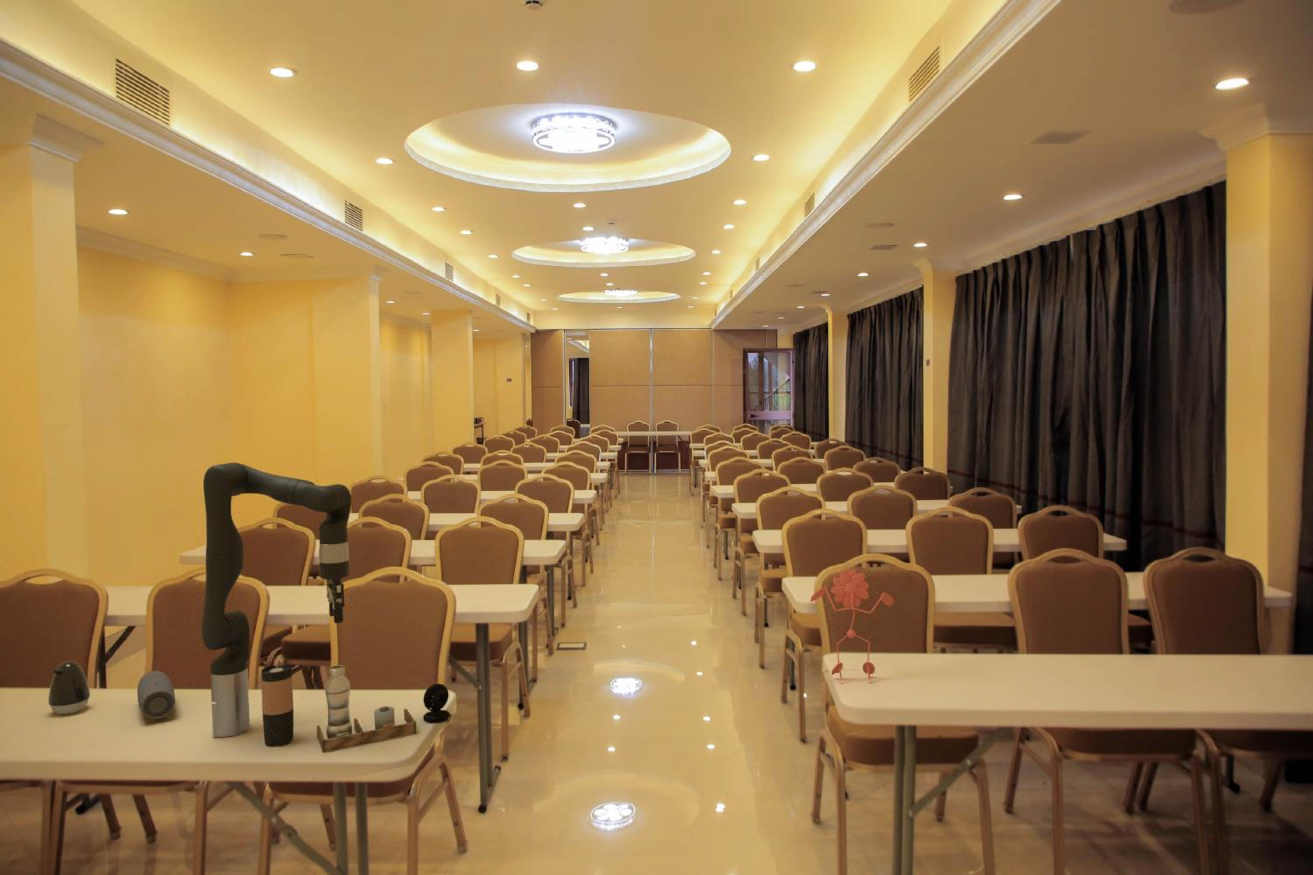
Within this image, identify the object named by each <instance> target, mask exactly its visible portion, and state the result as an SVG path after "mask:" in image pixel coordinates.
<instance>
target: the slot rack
mask: <svg viewBox="0 0 1313 875" xmlns="http://www.w3.org/2000/svg"><path fill="white" fill-rule="evenodd" d="M403 716H404V717H403V719H404V720H403V721H405V723H402V724H397V725H396V724H394V723H392V724H386V725H383V728H381V729H376V730H375V729H373V730H371V729H370V730H367V731H364V730H363V728H362V727H361V724H360V722H359V720H358V718H353V729H354V732H355V733H352V734H351V735H349V732H346V733H341V734H337V737H336V738H331V739H328V738H326V739H325V737H324V733H323V732H322V729H321V726H320V725H316V738H317V740H318V743H319V746H320V748H321V752H322V753H326V752H331V751H337V750H340V749H346V748H347V749H348V748H351V747H356V746H360V745H361V746H362V745H366V744H371V743H376V742H380V741H381V742H382V741H385V740H390V739H395V738H400V737H405V736H410V735H416V734H417V722H416V720H415V719H414V718H413V716H412V715H411V713H410V712H409V710H408V708H404V709H403Z"/></svg>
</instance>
